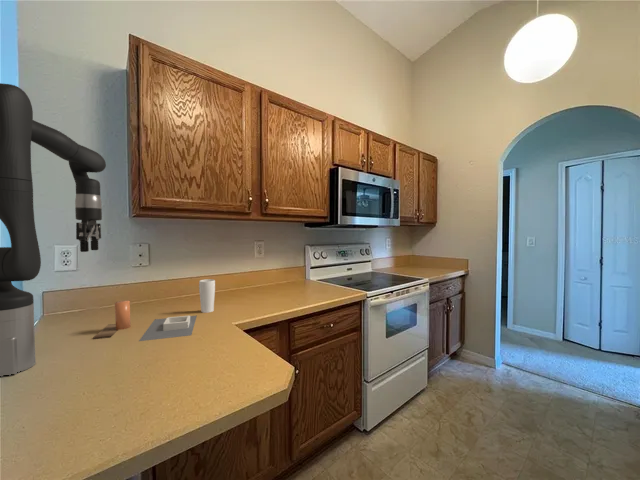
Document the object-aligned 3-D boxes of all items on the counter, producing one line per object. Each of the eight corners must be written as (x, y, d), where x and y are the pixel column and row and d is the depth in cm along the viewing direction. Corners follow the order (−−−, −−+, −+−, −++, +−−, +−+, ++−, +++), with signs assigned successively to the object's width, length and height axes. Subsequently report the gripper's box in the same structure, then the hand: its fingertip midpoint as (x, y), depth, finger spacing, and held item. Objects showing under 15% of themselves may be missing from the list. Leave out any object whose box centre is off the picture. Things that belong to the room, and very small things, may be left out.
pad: (140, 334, 102) (139, 332, 102) (93, 339, 97) (93, 337, 97) (149, 322, 115) (149, 320, 115) (108, 326, 110) (108, 324, 110)
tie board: (191, 338, 98) (191, 328, 98) (138, 344, 93) (138, 333, 93) (196, 317, 121) (196, 309, 121) (154, 321, 116) (154, 313, 115)
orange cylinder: (129, 329, 105) (127, 302, 104) (114, 331, 103) (113, 304, 103) (132, 325, 109) (130, 300, 109) (117, 327, 107) (116, 301, 107)
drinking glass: (196, 313, 126) (195, 281, 126) (208, 310, 132) (208, 278, 132) (206, 316, 123) (206, 282, 123) (218, 312, 129) (218, 279, 129)
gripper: (92, 206, 98) (93, 252, 99) (108, 209, 111) (109, 249, 112) (66, 205, 96) (67, 252, 96) (85, 208, 109) (86, 249, 109)
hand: (89, 250), depth 104 cm, fingers open, 8 cm apart
